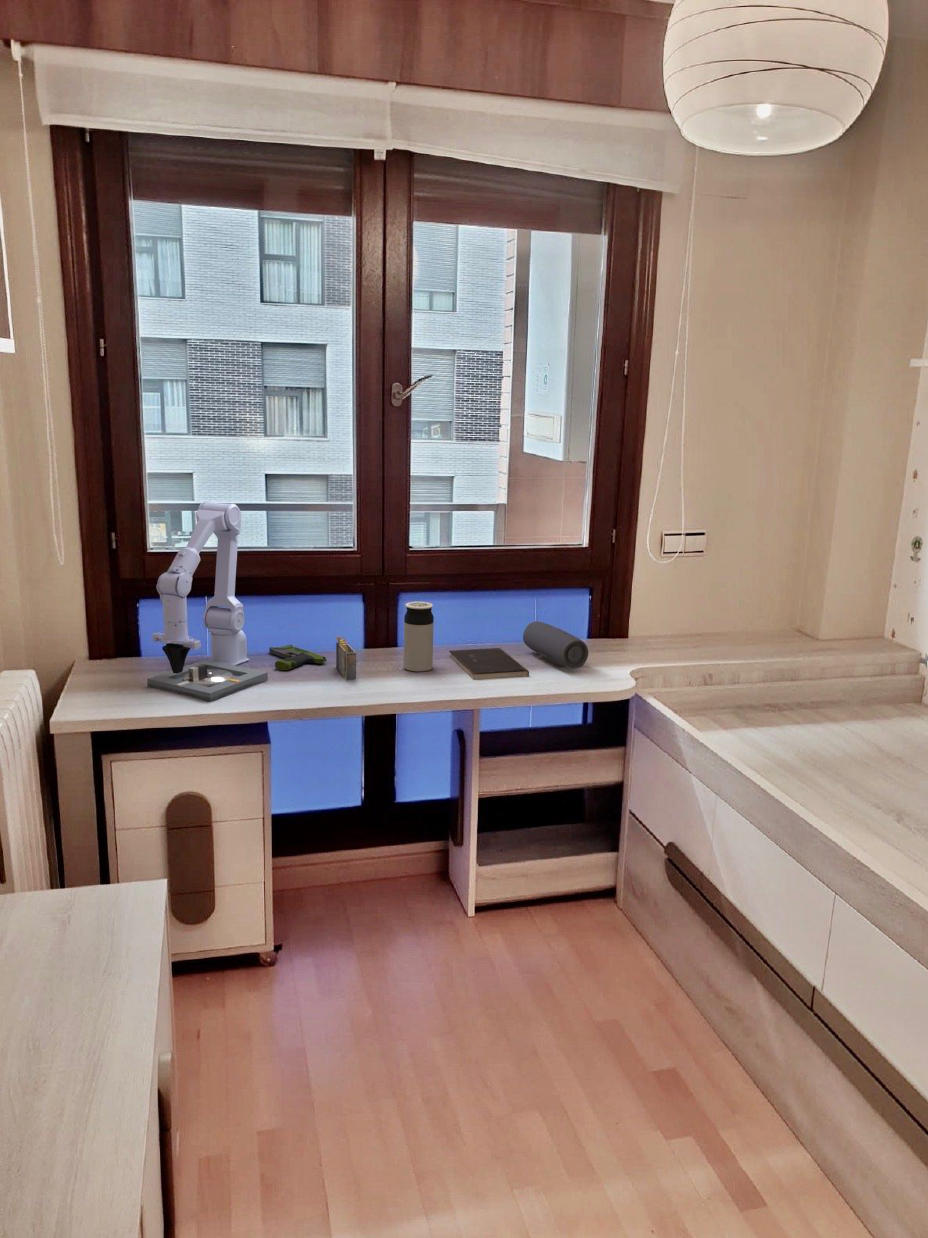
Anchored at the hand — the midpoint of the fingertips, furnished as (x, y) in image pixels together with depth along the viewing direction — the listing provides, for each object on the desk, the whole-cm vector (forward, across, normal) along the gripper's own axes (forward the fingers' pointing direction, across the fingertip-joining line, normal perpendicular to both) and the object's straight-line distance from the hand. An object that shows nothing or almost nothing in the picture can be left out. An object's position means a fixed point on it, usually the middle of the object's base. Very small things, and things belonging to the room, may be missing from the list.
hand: (177, 672), depth 240 cm
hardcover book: (+4, +58, +60) cm, 83 cm away
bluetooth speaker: (+3, +72, +74) cm, 103 cm away
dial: (+2, +6, +5) cm, 8 cm away
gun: (+3, +9, +32) cm, 34 cm away
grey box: (+4, +29, +32) cm, 43 cm away
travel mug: (+3, +43, +47) cm, 63 cm away
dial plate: (+3, +6, +5) cm, 8 cm away
